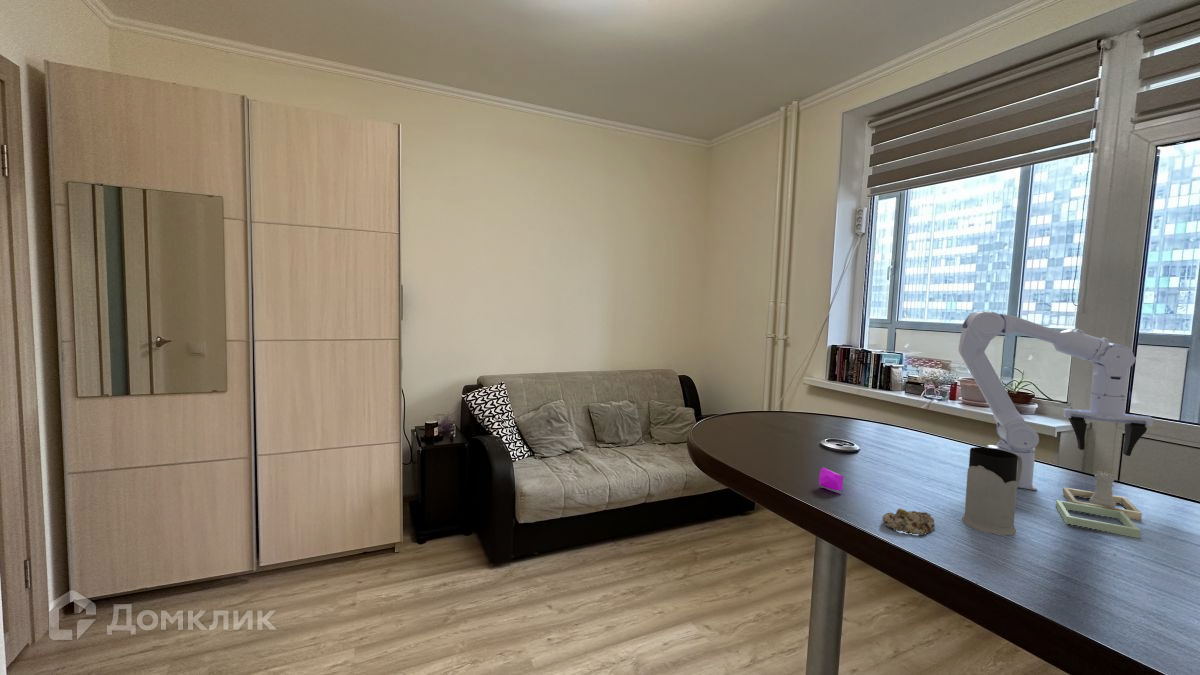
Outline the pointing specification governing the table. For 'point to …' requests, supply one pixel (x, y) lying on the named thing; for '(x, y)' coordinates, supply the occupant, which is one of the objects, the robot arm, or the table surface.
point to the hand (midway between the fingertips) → (1103, 451)
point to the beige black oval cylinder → (992, 490)
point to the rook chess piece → (1103, 490)
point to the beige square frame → (1130, 512)
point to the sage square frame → (1126, 530)
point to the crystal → (830, 479)
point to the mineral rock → (909, 521)
